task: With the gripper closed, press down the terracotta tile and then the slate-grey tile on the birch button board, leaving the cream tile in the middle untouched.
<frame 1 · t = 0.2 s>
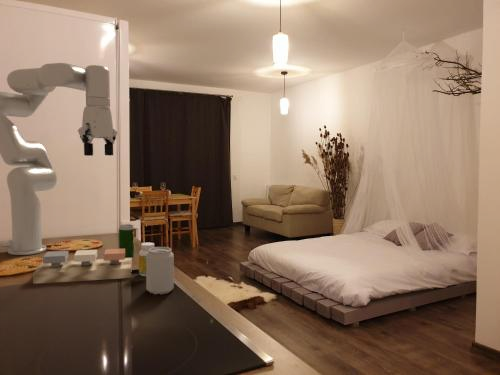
hand: (99, 155, 134), 37 cm above the worktop, tool pointing down, fingers open, 9 cm apart
button board: (86, 274, 124), on the worktop
can: (160, 291, 111), on the worktop
terracotta tile: (114, 256, 125), point 5 cm above the worktop, slide at 0.0 cm
beer can: (126, 259, 142), on the worktop
supplement bottle: (147, 274, 126), on the worktop
cream tile: (86, 258, 123), point 5 cm above the worktop, slide at 0.0 cm
slate tile: (56, 259, 121), point 5 cm above the worktop, slide at 0.0 cm
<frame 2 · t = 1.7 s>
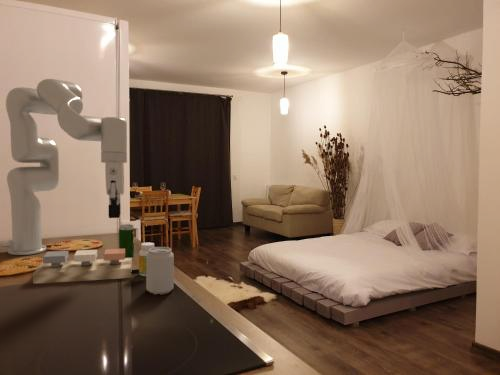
hand: (114, 216, 124), 18 cm above the worktop, tool pointing down, fingers open, 3 cm apart
nothing on the worktop moved.
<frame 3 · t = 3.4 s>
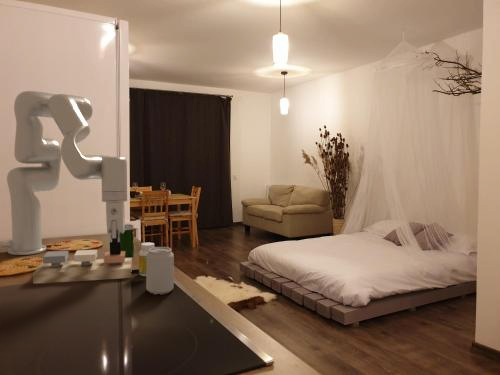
hand: (115, 253, 125), 6 cm above the worktop, tool pointing down, fingers closed
terracotta tile: (115, 259, 125), point 4 cm above the worktop, slide at 0.9 cm, touching gripper
everything else where it was.
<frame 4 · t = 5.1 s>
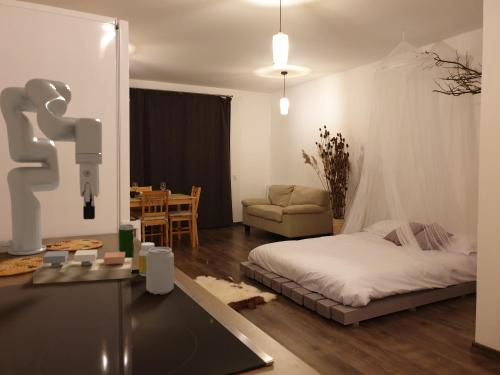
hand: (89, 218, 122), 18 cm above the worktop, tool pointing down, fingers closed
terracotta tile: (115, 260, 125), point 4 cm above the worktop, slide at 1.1 cm
everything else where it was.
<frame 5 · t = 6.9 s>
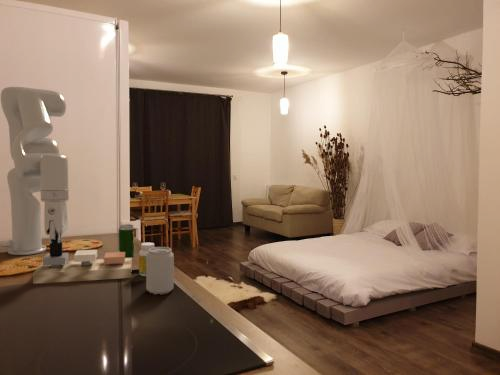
hand: (56, 255, 120), 6 cm above the worktop, tool pointing down, fingers closed
slate tile: (56, 261, 121), point 5 cm above the worktop, slide at 0.6 cm, touching gripper
everything else where it was.
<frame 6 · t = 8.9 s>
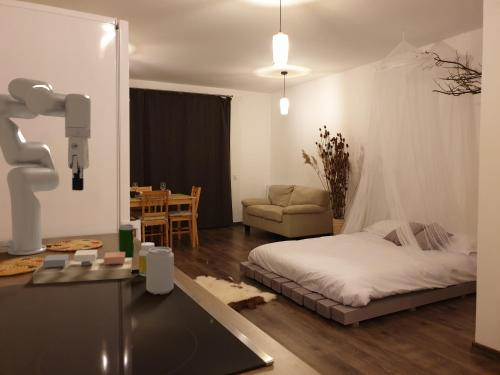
hand: (77, 190, 129), 25 cm above the worktop, tool pointing down, fingers closed
slate tile: (56, 263, 121), point 4 cm above the worktop, slide at 1.1 cm
everything else where it was.
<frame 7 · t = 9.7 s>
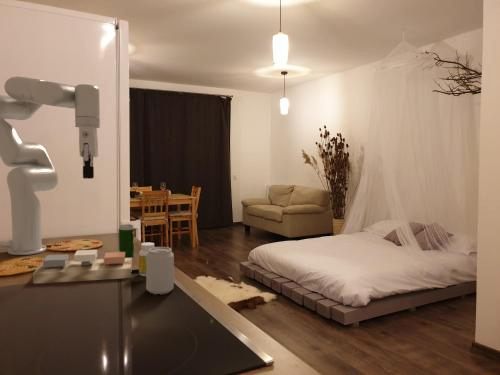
hand: (88, 178, 133), 29 cm above the worktop, tool pointing down, fingers closed
nothing on the worktop moved.
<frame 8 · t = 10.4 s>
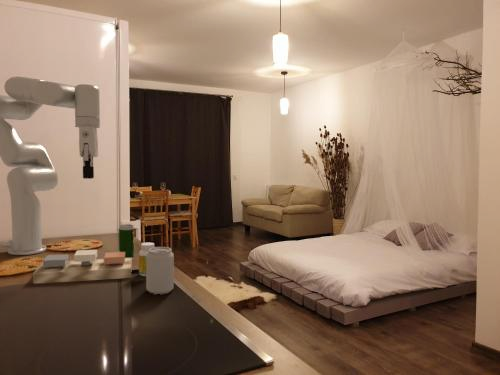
hand: (88, 178, 133), 29 cm above the worktop, tool pointing down, fingers closed
nothing on the worktop moved.
at the end: terracotta tile slide at 1.1 cm; slate tile slide at 1.1 cm; cream tile slide at 0.0 cm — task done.
